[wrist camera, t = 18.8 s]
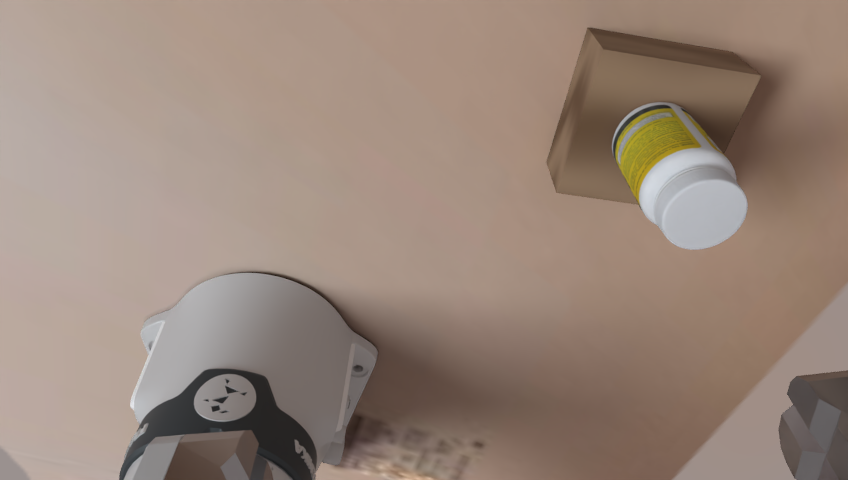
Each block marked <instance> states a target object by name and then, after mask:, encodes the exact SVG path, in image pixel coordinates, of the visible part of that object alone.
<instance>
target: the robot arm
mask: <svg viewBox="0 0 848 480" xmlns="http://www.w3.org/2000/svg"><path fill="white" fill-rule="evenodd" d="M141 338H142V340H143V343H144V345H145V348H146V350H147V353H148V355H149V356H148V358H147V360H146V363H145V365H144V368H143V370H142V373H141V375H140V378H139V380H138V383H137V385H136V388H135V390H134V393H133V395H132V398H131V404H130V406H131V408H132V409H133V410H134V413H135V416H136V419H137V421H138V423H139V424H140V426H139V428H138V430H137V432H136V433H135V435H134V436H133V438H132V439H131V442H130V444H129V446H128V448H127V451H126V454H125V459H124V463H123V465H122V468H121V471H120V478H119V480H315V477H316V474H315V473H316V471H317V470H318V468H319V466H320V464H321V462H323V463H327V464H331V465H339V464H340V461H341V458H342V454H343V450H344V444H345V438H344V437H345V433H346V427H347V425H348V423H349V421H350V419H351V416H352V414H353V412H354V410H355V408H356V405H357V403H358V401H359V399H360V397H361V395H362V392H363V390H364V388H365V386H366V384H367V382H368V379H369V377H370V375H371V373H372V371H373V369H374V366H375V364H376V360H377V356H378V351H377V349H376V348H375V346H374V345H372V344H371V343H370V342H369V341H367V340H366V339H364V338H363V337H361V336H359V335H358V334H356V333H354V332H353V331H352V330H351V329H350V328H349V327H348V326H347V324H346V323H345V321H344V320H343V319H342V317H341V316H340V314H339V313H338V312H337V311H336V309H335V308H334V307H333V306H332V305H331V304H330V303H329V302H327V301H326V300H325V299H324V298H323V297H321V296H320V295H318V294H317V293H316V292H314V291H312V290H311V289H309V288H307V287H305V286H303V285H301V284H299V283H296V282H294V281H291V280H288V279H285V278H281V277H278V276H273V275H267V274H259V273H236V274H228V275H223V276H219V277H216V278H213V279H210V280H208V281H205V282H203V283H201V284H199V285H198V286H196V287H195V288H193V289H192V290H191V291H189V292H188V293H187V294H186V295H185V296H184V297H183V298H182V299H181V300H180V302H179V303H178V304H177V305H176V306H175V307H173V308H172V309H171V310H168V311H165V312H162V313H160V314H157V315H155V316H152V317H150V318H149V319H147V320H146V321H145V323H144V325H143V328H142V330H141ZM357 365H360V366H357ZM787 395H788V396H789V398H790V400H791V401H792V403H793V405H792V406H791V407H790V408H789V409H788V410H786V411H785V412H784V413H783V414H782V415H781V421H780V425H779V436H780V444H781V449H782V452H783V455H784V457H785V460H786V463H787V465H788V467H789V468H790V471H791V472H792V474H793V476H794V478H795V479H797V480H848V371H839V372H831V373H821V374H813V375H803V376H796V377H795V378H794V379H793V380H792V381H791V382H790V386H789V389H788V392H787Z"/></svg>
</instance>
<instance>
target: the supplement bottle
mask: <svg viewBox="0 0 848 480" xmlns="http://www.w3.org/2000/svg"><path fill="white" fill-rule="evenodd" d="M612 152H613V156H614V159H615V161H616V163H617V165H618V167H619V168H620V170H621V172H622V174H623V176H624V178H625V180H626V182H627V184H628V186H629V188H630V189H631V191H632V193H633V195H634V197H635V199H636V201H637V202H638V204H639V206H640V208H641V210H642V211H643V213H644V214H645V215H646V217H647V218H648V219H649V220H650V221H651V222H653V223H654V224H656V225H658V227H659V228H660V229H661V230H662V232H663V233H664V235H665V236H666V238H667V239H668V240H669V241H670V242H672V243H673V244H674V245H676V246H678V247H681V248H685V249H692V250H698V249H705V248H709V247H712V246H715V245H717V244H720V243H721V242H723V241H725V240H727V239H728V238H729V237H731V236H732V235H733V234H734V233H735V232H736V231H737V230H738V229H739V227H740V226H741V225H742V223H743V221H744V219H745V217H746V213H747V208H748V203H747V198H746V195H745V193H744V192H743V190H742V189H741V187H740V186H739V185H738V183H737V182H736V174H735V170H734V168H733V166H732V164H731V163H730V161H729V160H728V158H727V157H726V156H725V155H724V154H723V153H722V151H721V150H720V149H719V148H718V147H717V146H716V144H715V143H714V142H713V141H712V139H711V138H710V137H709V136H708V135H707V134H706V132H705V131H704V130H703V129H702V128H701V127H700V125H699V124H698V123H697V122H696V121H695V120H694V118H693V117H692V116H691V115H690V114H689V113H688V112H687V111H686V110H685V109H683V108H682V107H680V106H678V105H676V104H673V103H667V102H655V103H649V104H645V105H643V106H640V107H639V108H637V109H635V110H633V111H632V112H630V113H629V114H628V115H627V116H626V117H625V118H624V119H623V120H622V121H621V123H620V124H619V125H618V127H617V129H616V131H615V134H614V137H613V141H612Z"/></svg>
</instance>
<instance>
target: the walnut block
mask: <svg viewBox="0 0 848 480" xmlns="http://www.w3.org/2000/svg"><path fill="white" fill-rule="evenodd" d="M760 78H761V75H760V74H759V73H758V72H756V71H755V70H754V69H753V68H751V67H750V66H749V65H748V64H747V63H745V62H744V61H743V60H742V59H740V58H739V57H738V56H737V55H735V54H734V53H733V52H729V51H723V50H717V49H712V48H706V47H700V46H694V45H688V44H682V43H676V42H670V41H664V40H658V39H652V38H646V37H640V36H634V35H628V34H623V33H617V32H611V31H605V30H599V29H593V28H587V32H586V35H585V38H584V41H583V45H582V48H581V51H580V54H579V58H578V61H577V64H576V68H575V71H574V74H573V77H572V81H571V84H570V87H569V90H568V94H567V97H566V100H565V104H564V107H563V110H562V113H561V117H560V120H559V123H558V126H557V130H556V133H555V136H554V139H553V143H552V146H551V149H550V153H549V156H548V159H547V165H548V168H549V171H550V174H551V177H552V180H553V183H554V186H555V189H556V192H557V193H561V194H568V195H575V196H582V197H589V198H596V199H603V200H610V201H617V202H624V203H631V204H638V202H637V201H636V199H635V197H634V195H633V193H632V191H631V189H630V188H629V186H628V184H627V182H626V180H625V178H624V176H623V174H622V172H621V170H620V168H619V167H618V165H617V163H616V161H615V159H614V156H613V152H612V141H613V137H614V134H615V131H616V129H617V127H618V125H619V124H620V123H621V121H622V120H623V119H624V118H625V117H626V116H627V115H628V114H629V113H630V112H632V111H633V110H635V109H637V108H639V107H640V106H643V105H645V104H649V103H655V102H667V103H673V104H676V105H678V106H680V107H682V108H683V109H685V110H686V111H687V112H688V113H689V114H690V115H691V116H692V117H693V118H694V120H695V121H696V122H697V123H698V124H699V125H700V127H701V128H702V129H703V130H704V131H705V132H706V134H707V135H708V136H709V137H710V138H711V139H712V141H713V142H714V143H715V144H716V146H717V147H718V148H719V149H720V150H721V151H722V153H723V154H724V152H725V150H726V148H727V146H728V144H729V142H730V140H731V138H732V136H733V134H734V132H735V129H736V127H737V125H738V123H739V121H740V119H741V117H742V115H743V113H744V111H745V109H746V107H747V105H748V103H749V100H750V98H751V96H752V94H753V92H754V90H755V88H756V86H757V84H758V82H759V80H760ZM638 205H639V204H638Z"/></svg>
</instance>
